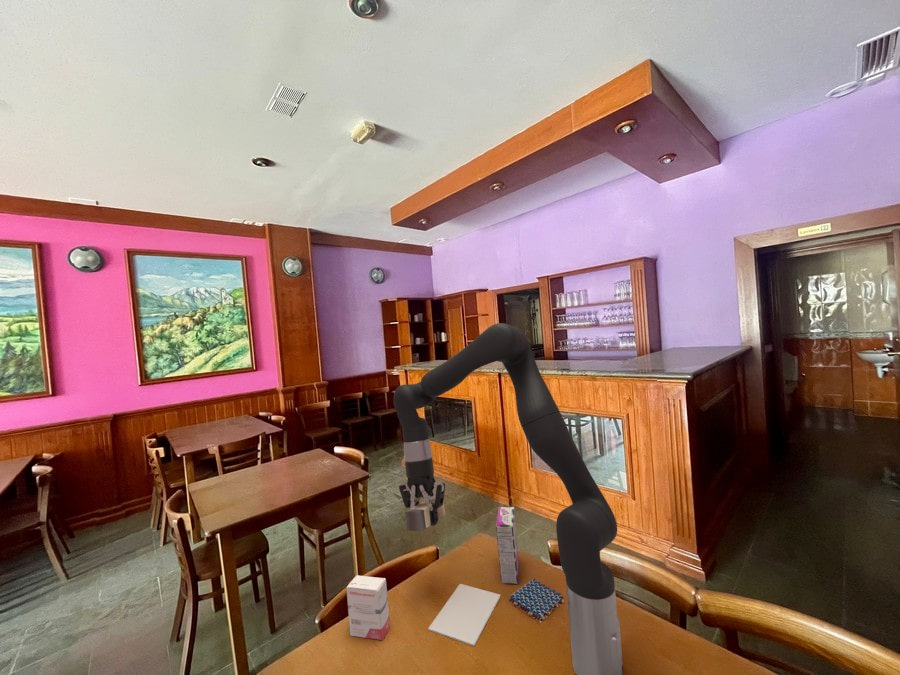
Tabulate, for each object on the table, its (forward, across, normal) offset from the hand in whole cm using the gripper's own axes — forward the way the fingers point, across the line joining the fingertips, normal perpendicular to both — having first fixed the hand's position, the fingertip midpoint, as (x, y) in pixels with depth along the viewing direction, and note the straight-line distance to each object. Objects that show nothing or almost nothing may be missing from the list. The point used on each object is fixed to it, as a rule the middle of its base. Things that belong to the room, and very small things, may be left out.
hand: (425, 524), depth 96 cm
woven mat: (+23, -22, -13) cm, 34 cm away
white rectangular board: (+21, -8, -3) cm, 23 cm away
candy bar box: (+20, -12, -22) cm, 32 cm away
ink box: (+21, +11, +12) cm, 26 cm away
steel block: (-2, 0, -7) cm, 7 cm away
